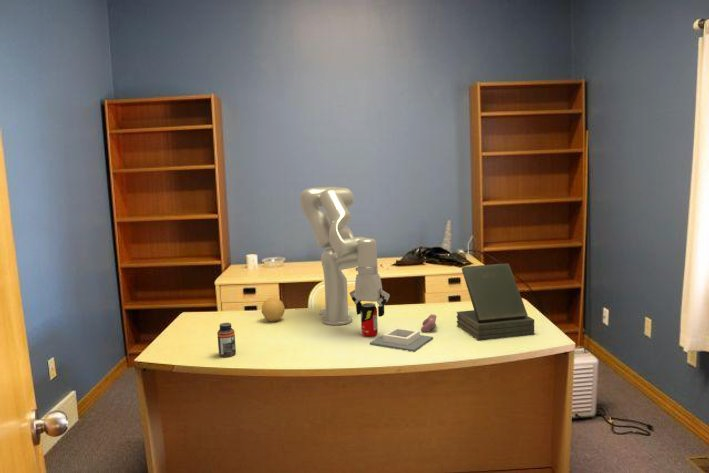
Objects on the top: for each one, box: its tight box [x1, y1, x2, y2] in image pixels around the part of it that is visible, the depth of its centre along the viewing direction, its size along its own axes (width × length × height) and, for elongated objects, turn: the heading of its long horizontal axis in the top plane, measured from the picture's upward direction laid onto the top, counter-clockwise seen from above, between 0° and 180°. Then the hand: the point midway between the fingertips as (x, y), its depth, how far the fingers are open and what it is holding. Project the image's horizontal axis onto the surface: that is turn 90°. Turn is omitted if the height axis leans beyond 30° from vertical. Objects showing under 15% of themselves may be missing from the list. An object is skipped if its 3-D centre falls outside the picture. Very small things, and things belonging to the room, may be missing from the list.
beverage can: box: [360, 302, 379, 338], centre depth 202 cm, size 6×6×12 cm
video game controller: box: [420, 313, 437, 333], centre depth 207 cm, size 10×5×7 cm, turn 168°
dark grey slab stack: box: [456, 262, 535, 341], centre depth 202 cm, size 23×20×25 cm
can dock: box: [369, 327, 434, 353], centre depth 193 cm, size 18×16×3 cm
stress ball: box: [261, 297, 286, 322], centre depth 227 cm, size 10×10×10 cm
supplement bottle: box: [216, 322, 237, 358], centre depth 186 cm, size 6×6×11 cm
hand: (370, 314), depth 201 cm, fingers open, 9 cm apart
